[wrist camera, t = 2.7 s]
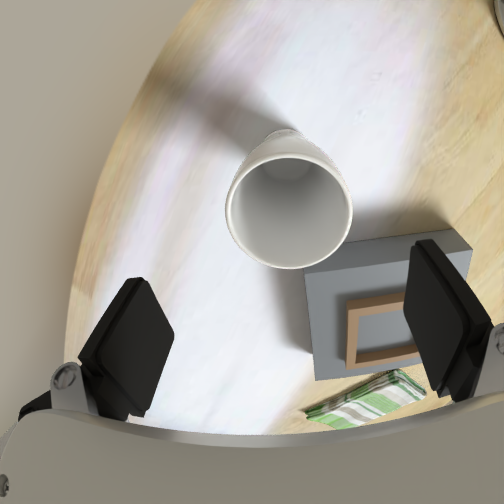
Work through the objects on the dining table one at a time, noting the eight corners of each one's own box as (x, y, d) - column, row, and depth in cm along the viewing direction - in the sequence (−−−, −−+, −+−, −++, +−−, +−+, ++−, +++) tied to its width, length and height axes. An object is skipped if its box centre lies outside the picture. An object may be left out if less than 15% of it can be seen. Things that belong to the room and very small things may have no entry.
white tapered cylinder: (253, 118, 25) (222, 146, 13) (323, 125, 25) (365, 160, 12) (251, 183, 29) (223, 266, 16) (316, 189, 28) (341, 276, 16)
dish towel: (426, 388, 48) (430, 401, 45) (346, 426, 59) (347, 438, 56) (396, 363, 43) (400, 379, 40) (302, 409, 54) (302, 422, 51)
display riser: (301, 248, 32) (304, 283, 27) (453, 228, 28) (479, 256, 23) (314, 355, 42) (315, 389, 37) (429, 336, 38) (440, 366, 33)
